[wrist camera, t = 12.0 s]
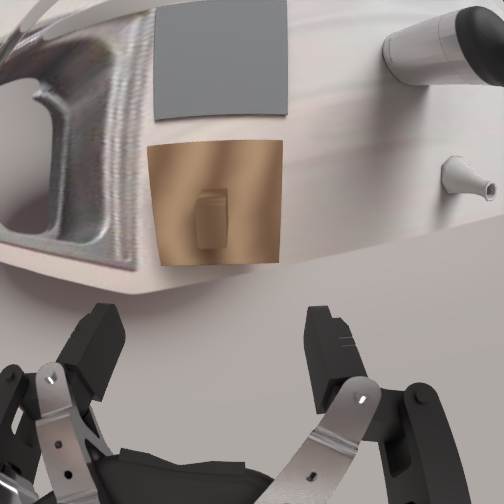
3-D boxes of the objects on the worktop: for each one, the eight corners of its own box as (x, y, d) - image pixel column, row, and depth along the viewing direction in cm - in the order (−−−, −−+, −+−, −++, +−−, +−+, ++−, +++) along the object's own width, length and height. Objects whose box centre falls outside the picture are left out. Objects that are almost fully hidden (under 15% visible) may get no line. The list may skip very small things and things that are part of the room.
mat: (286, 1, 26) (286, 0, 25) (286, 114, 34) (287, 114, 34) (157, 8, 26) (156, 7, 25) (155, 119, 34) (154, 119, 33)
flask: (436, 161, 37) (475, 176, 28) (463, 150, 36) (501, 163, 27) (443, 199, 40) (479, 220, 31) (469, 186, 39) (504, 204, 30)
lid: (281, 140, 28) (294, 146, 21) (277, 258, 34) (286, 291, 28) (149, 146, 27) (125, 154, 21) (163, 261, 33) (148, 294, 27)
